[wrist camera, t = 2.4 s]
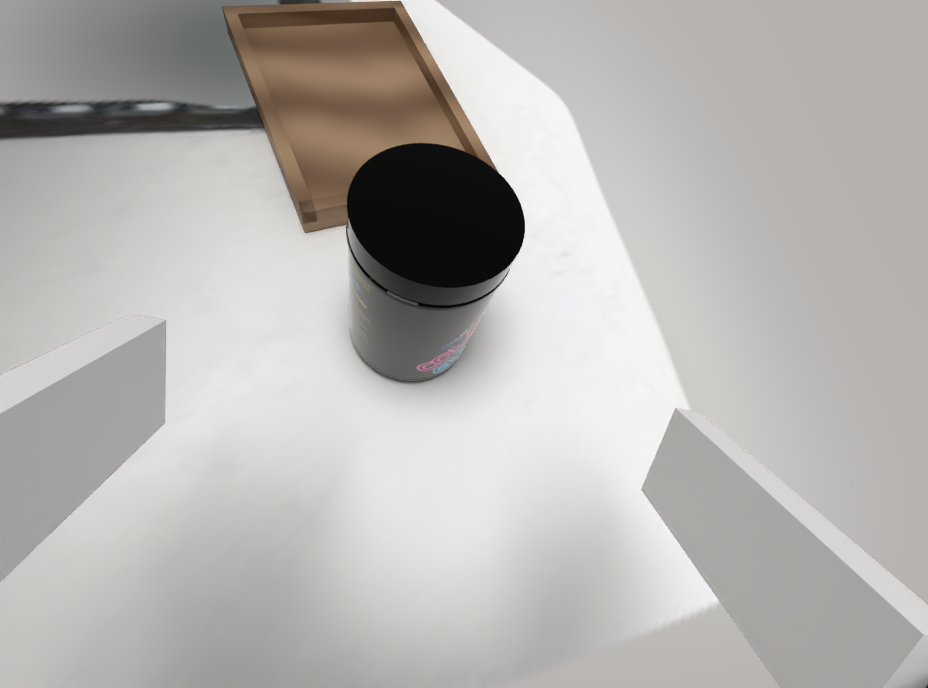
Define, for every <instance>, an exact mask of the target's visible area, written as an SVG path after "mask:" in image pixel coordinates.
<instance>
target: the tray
mask: <svg viewBox="0 0 928 688" xmlns="http://www.w3.org/2000/svg"><path fill="white" fill-rule="evenodd" d="M222 9H223V13H224V17H225V21H226V25H227V29H228V34H229V36H230V39H231V41H232V44H233V47H234V49H235V52H236V54H237V57H238V60H239V62H240V65H241V67H242V70H243V73H244V75H245V78H246V81H247V83H248V86H249V88H250V91H251V94H252V96H253V99H254V101H255V104H256V107H257V109H258V112H259V114H260V117H261V120H262V122H263V125H264V127H265V130H266V133H267V135H268V138H269V140H270V143H271V146H272V148H273V151H274V153H275V156H276V159H277V161H278V164H279V166H280V169H281V172H282V174H283V177H284V180H285V182H286V185H287V187H288V190H289V193H290V195H291V198H292V200H293V203H294V206H295V208H296V211H297V213H298V216H299V219H300V221H301V224H302V226H303V229H304V232H305V233H306V232H311V231H316V230H320V229H325V228H330V227H335V226H340V225H344V224H347V195H348V190H349V187H350V184H351V182H352V179H353V177H354V176H355V174H356V173H357V171H358V170H359V169H360V168H361V166H362V165H363V164H364V163H365V162H367V161H368V160H369V159H370V158H372V157H373V156H374V155H376V154H378V153H380V152H382V151H384V150H386V149H389V148H392V147H395V146H399V145H403V144H411V143H432V144H440V145H445V146H449V147H453V148H456V149H459V150H462V151H465V152H467V153H469V154H471V155H473V156H475V157H477V158H479V159H481V160H482V161H484V162H485V163H487V164H488V165H490V166H491V167H492V168H494V169H495V170H496V171H497V169H496V167H495V166H494V164H493V162H492V160H491V159H490V157H489V155H488V153H487V152H486V150H485V148H484V146H483V145H482V143H481V141H480V139H479V137H478V136H477V134H476V132H475V130H474V129H473V127H472V125H471V123H470V122H469V120H468V118H467V116H466V115H465V113H464V111H463V109H462V108H461V106H460V104H459V102H458V101H457V99H456V97H455V95H454V94H453V92H452V90H451V88H450V87H449V85H448V83H447V81H446V80H445V78H444V76H443V74H442V73H441V71H440V69H439V67H438V65H437V64H436V62H435V60H434V58H433V57H432V55H431V53H430V51H429V50H428V48H427V46H426V44H425V43H424V41H423V39H422V37H421V36H420V34H419V32H418V30H417V29H416V27H415V25H414V23H413V22H412V20H411V18H410V16H409V15H408V13H407V11H406V9H405V8H404V6H403V4H402V2H401V1H380V2H349V3H318V4H286V5H258V6H257V5H256V6H224V7H222ZM497 172H498V171H497Z"/></svg>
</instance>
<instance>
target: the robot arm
mask: <svg viewBox="0 0 928 688" xmlns="http://www.w3.org/2000/svg"><path fill="white" fill-rule="evenodd" d="M165 380H166V320H164V319H158V318H152V317H147V316H141V315H135V314H128V315H126V316H124V317H122V318H120V319H118V320H116V321H113V322H111V323H109V324H107V325H105V326H103V327H101V328H99V329H97V330H94V331H92V332H90V333H88V334H86V335H84V336H82V337H80V338H78V339H75V340H73V341H71V342H69V343H67V344H65V345H63V346H61V347H59V348H56V349H54V350H52V351H50V352H48V353H46V354H44V355H42V356H40V357H37V358H35V359H33V360H31V361H29V362H27V363H25V364H23V365H21V366H18V367H16V368H14V369H12V370H10V371H8V372H6V373H4V374H1V375H0V582H1V581H2V580H3V579H4V578H5V577H6V576H7V575H8V574H9V573H10V572H11V571H12V570H13V569H14V568H15V567H16V566H17V565H18V564H19V563H20V562H21V561H23V560H24V559H25V558H26V557H27V556H28V555H29V554H30V553H31V552H32V551H33V550H34V549H35V548H36V547H37V546H38V545H39V544H40V543H41V542H42V541H43V540H44V539H45V538H46V537H47V536H48V535H49V534H50V533H52V532H53V531H54V530H55V529H56V528H57V527H58V526H59V525H60V524H61V523H62V522H63V521H64V520H65V519H66V518H67V517H68V516H69V515H70V514H71V513H72V512H73V511H74V510H75V509H76V508H77V507H78V506H80V505H81V504H82V503H83V502H84V501H85V500H86V499H87V498H88V497H89V496H90V495H91V494H92V493H93V492H94V491H95V490H96V489H97V488H98V487H99V486H100V485H101V484H102V483H103V482H104V481H105V480H106V479H108V478H109V477H110V476H111V475H112V474H113V473H114V472H115V471H116V470H117V469H118V468H119V467H120V466H121V465H122V464H123V463H124V462H125V461H126V460H127V459H128V458H129V457H130V456H131V455H132V454H133V453H134V452H136V451H137V450H138V449H139V448H140V447H141V446H142V445H143V444H144V443H145V442H146V441H147V440H148V439H149V438H150V437H151V436H152V435H153V434H154V433H155V432H156V431H157V430H158V429H159V428H160V427H161V426H162V425H163V424H165ZM641 490H642V491H643V493H644V494H645V496H646V497H647V499H648V500H649V501H650V503H651V504H652V506H653V507H654V509H655V510H656V511H657V513H658V514H659V516H660V517H661V519H662V520H663V521H664V523H665V524H666V526H667V527H668V528H669V530H670V531H671V533H672V534H673V536H674V537H675V538H676V540H677V541H678V543H679V544H680V546H681V547H682V548H683V550H684V551H685V553H686V554H687V556H688V557H689V558H690V560H691V561H692V563H693V564H694V566H695V567H696V568H697V570H698V571H699V573H700V574H701V576H702V577H703V578H704V580H705V581H706V583H707V584H708V586H709V587H710V588H711V590H712V591H713V593H714V594H715V596H716V597H717V598H718V600H719V601H720V603H721V604H722V606H723V607H724V608H725V610H726V611H727V613H728V614H729V615H730V617H731V618H732V620H733V621H734V623H735V624H736V626H737V627H738V628H739V630H740V631H741V633H742V634H743V636H744V637H745V638H746V640H747V641H748V643H749V644H750V645H751V647H752V648H753V650H754V651H755V652H756V654H757V655H758V657H759V658H760V660H761V661H762V662H763V664H764V665H765V667H766V668H767V670H768V671H769V672H770V674H771V675H772V677H773V678H774V680H775V681H776V683H777V684H778V685H779V687H780V688H928V605H927V604H926V603H924V602H923V601H922V600H921V599H920V598H918V597H917V596H916V595H915V594H914V593H913V592H912V591H910V590H909V589H908V588H907V587H905V586H904V585H903V584H902V583H901V582H900V581H898V580H897V579H896V578H895V577H894V576H893V575H891V574H890V573H889V572H888V571H887V570H886V569H884V568H883V567H882V566H881V565H880V564H878V563H877V562H876V561H875V560H874V559H873V558H871V557H870V556H869V555H868V554H867V553H865V552H864V551H863V550H862V549H861V548H860V547H858V546H857V545H856V544H855V543H854V542H852V541H851V540H850V539H849V538H848V537H846V536H845V535H844V534H843V533H842V532H841V531H839V530H838V529H837V528H836V527H835V526H834V525H833V524H831V523H830V522H829V521H828V520H827V519H825V518H824V517H823V516H822V515H821V514H820V513H818V512H817V511H816V510H815V509H814V508H812V507H811V506H810V505H809V504H808V503H806V502H805V501H804V500H803V499H802V498H801V497H800V496H798V495H797V494H796V493H795V492H794V491H792V490H791V489H790V488H789V487H788V486H786V485H785V484H784V483H783V482H782V481H781V480H779V479H778V478H777V477H776V476H775V475H774V474H772V473H771V472H770V471H769V470H768V469H766V468H765V467H764V466H763V465H762V464H761V463H759V462H758V461H757V460H756V459H755V458H754V457H752V456H751V455H750V454H749V453H748V452H746V451H745V450H744V449H743V448H742V447H741V446H739V445H738V444H737V443H736V442H735V441H733V440H732V439H731V438H730V437H729V436H728V435H726V434H725V433H724V432H723V431H722V430H720V429H719V428H718V427H717V426H716V425H715V424H713V423H712V422H711V421H710V420H709V419H708V418H706V417H705V416H704V415H703V414H702V413H700V412H695V411H690V410H684V409H678V408H675V411H674V413H673V415H672V418H671V420H670V422H669V425H668V427H667V429H666V432H665V434H664V437H663V439H662V441H661V444H660V446H659V448H658V451H657V453H656V456H655V458H654V460H653V463H652V465H651V467H650V470H649V472H648V474H647V477H646V479H645V482H644V484H643V486H642V489H641Z"/></svg>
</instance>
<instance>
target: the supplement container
mask: <svg viewBox="0 0 928 688" xmlns="http://www.w3.org/2000/svg"><path fill="white" fill-rule="evenodd" d="M524 233H525V221H524V215H523V210H522V207H521V204H520V202H519V200H518V198H517V196H516V194H515V192H514V191H513V189H512V188H511V186H510V185H509V184H508V182H507V181H506V180H505V179H504V178H503V177H502V176H501V175H500V174H499V173H498V172H497V171H496V170H495V169H494V168H492V167H491V166H490V165H488V164H487V163H485V162H484V161H482V160H481V159H479V158H477V157H475V156H473V155H471V154H469V153H467V152H465V151H462V150H459V149H456V148H453V147H449V146H445V145H440V144H432V143H411V144H403V145H399V146H395V147H392V148H389V149H386V150H384V151H382V152H380V153H378V154H376V155H374V156H373V157H372V158H370V159H369V160H368V161H367V162H365V163H364V164H363V165H362V166H361V168H360V169H359V170H358V171H357V173H356V174H355V176H354V177H353V179H352V182H351V184H350V187H349V190H348V195H347V226H346V235H347V243H348V267H349V328H350V335H351V339H352V342H353V344H354V347H355V349H356V350H357V352H358V353H359V355H360V356H361V357H362V359H363V360H364V361H365V362H366V363H367V364H368V365H369V366H371V367H372V368H373V369H375V370H376V371H378V372H380V373H381V374H384V375H386V376H388V377H391V378H394V379H399V380H406V381H418V380H425V379H429V378H432V377H435V376H437V375H439V374H441V373H443V372H444V371H446V370H447V369H449V368H450V367H451V366H452V365H453V364H454V363H455V362H456V361H457V360H458V358H459V357H460V355H461V354H462V352H463V350H464V348H465V346H466V345H467V343H468V341H469V339H470V337H471V336H472V334H473V332H474V330H475V328H476V327H477V325H478V323H479V321H480V319H481V318H482V316H483V314H484V312H485V310H486V309H487V307H488V305H489V303H490V301H491V300H492V298H493V296H494V294H495V292H496V291H497V289H498V287H499V286H500V285H501V284H502V282H503V281H504V279H505V278H506V276H507V274H508V272H509V270H510V267H511V265H512V264H513V262H514V260H515V258H516V256H517V255H518V253H519V251H520V248H521V246H522V243H523V239H524Z"/></svg>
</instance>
